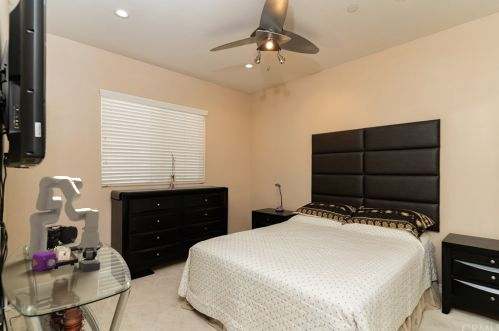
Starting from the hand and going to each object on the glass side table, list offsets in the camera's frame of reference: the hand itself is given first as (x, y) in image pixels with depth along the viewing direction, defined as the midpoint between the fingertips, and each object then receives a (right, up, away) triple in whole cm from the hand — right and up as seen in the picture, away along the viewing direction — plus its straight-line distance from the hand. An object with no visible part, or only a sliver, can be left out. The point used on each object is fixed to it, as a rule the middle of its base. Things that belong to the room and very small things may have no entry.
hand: (89, 257), depth 169 cm
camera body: (0, -7, 0) cm, 7 cm away
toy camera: (-25, -6, -4) cm, 26 cm away
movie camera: (-54, -7, +46) cm, 71 cm away
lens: (0, -2, 0) cm, 2 cm away
